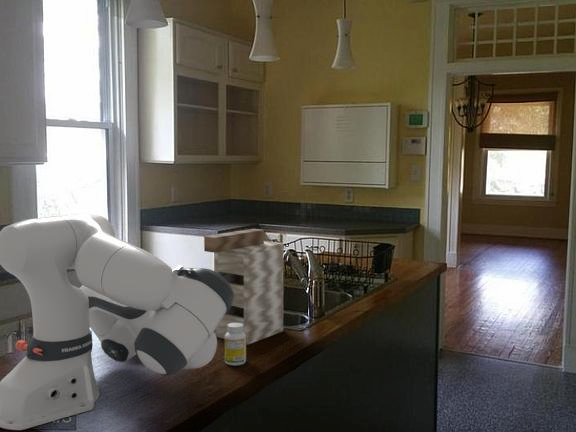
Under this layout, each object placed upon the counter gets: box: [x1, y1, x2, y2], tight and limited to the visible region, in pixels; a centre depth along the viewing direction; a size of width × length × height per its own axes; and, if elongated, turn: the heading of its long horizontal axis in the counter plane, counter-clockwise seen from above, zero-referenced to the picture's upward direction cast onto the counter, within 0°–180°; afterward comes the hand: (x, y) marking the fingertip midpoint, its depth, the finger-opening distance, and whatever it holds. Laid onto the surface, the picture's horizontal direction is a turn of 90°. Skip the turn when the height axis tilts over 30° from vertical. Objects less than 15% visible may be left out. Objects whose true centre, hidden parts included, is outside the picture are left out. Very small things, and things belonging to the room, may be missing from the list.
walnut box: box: [203, 228, 265, 254], centre depth 167 cm, size 20×4×4 cm, turn 143°
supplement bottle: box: [224, 323, 247, 366], centre depth 151 cm, size 5×5×10 cm
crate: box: [214, 240, 285, 346], centre depth 174 cm, size 16×12×26 cm
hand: (194, 269), depth 155 cm, fingers open, 8 cm apart
